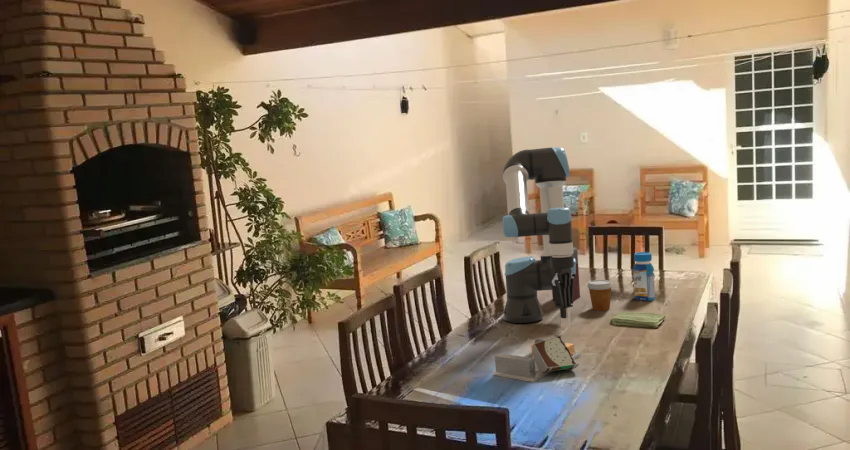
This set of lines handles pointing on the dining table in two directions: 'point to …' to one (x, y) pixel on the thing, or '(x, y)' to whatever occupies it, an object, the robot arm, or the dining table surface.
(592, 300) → the disposable coffee cup
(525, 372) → the vise
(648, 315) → the washcloth
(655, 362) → the dining table surface
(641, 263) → the beverage bottle
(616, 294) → the dining table surface
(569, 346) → the block
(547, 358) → the food container
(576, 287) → the toy vending machine
